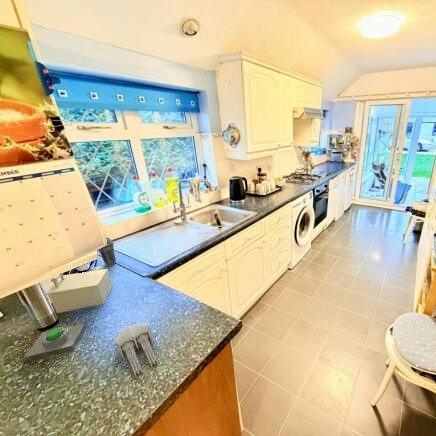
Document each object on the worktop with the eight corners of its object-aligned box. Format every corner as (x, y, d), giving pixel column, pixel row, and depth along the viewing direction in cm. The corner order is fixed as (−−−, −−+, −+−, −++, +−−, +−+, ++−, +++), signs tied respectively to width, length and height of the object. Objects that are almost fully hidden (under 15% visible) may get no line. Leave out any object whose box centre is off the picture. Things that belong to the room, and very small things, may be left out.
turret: (130, 386, 70) (126, 377, 67) (113, 339, 81) (110, 330, 79) (165, 364, 76) (163, 355, 74) (145, 323, 88) (143, 314, 86)
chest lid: (46, 295, 90) (41, 284, 88) (62, 277, 101) (58, 267, 99) (97, 286, 95) (94, 276, 94) (107, 270, 106) (105, 260, 105)
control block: (26, 362, 74) (21, 352, 73) (44, 337, 83) (40, 328, 81) (73, 350, 78) (70, 341, 77) (86, 328, 87) (82, 319, 85)
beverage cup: (99, 266, 125) (87, 232, 118) (111, 259, 132) (101, 226, 124) (109, 268, 123) (99, 233, 116) (122, 261, 130) (112, 228, 123)
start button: (45, 341, 77) (43, 337, 76) (51, 333, 80) (49, 329, 79) (59, 338, 78) (57, 334, 78) (64, 330, 81) (62, 326, 81)
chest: (56, 313, 93) (48, 295, 90) (71, 293, 104) (64, 277, 101) (103, 303, 99) (98, 286, 96) (113, 286, 110) (107, 270, 106)
